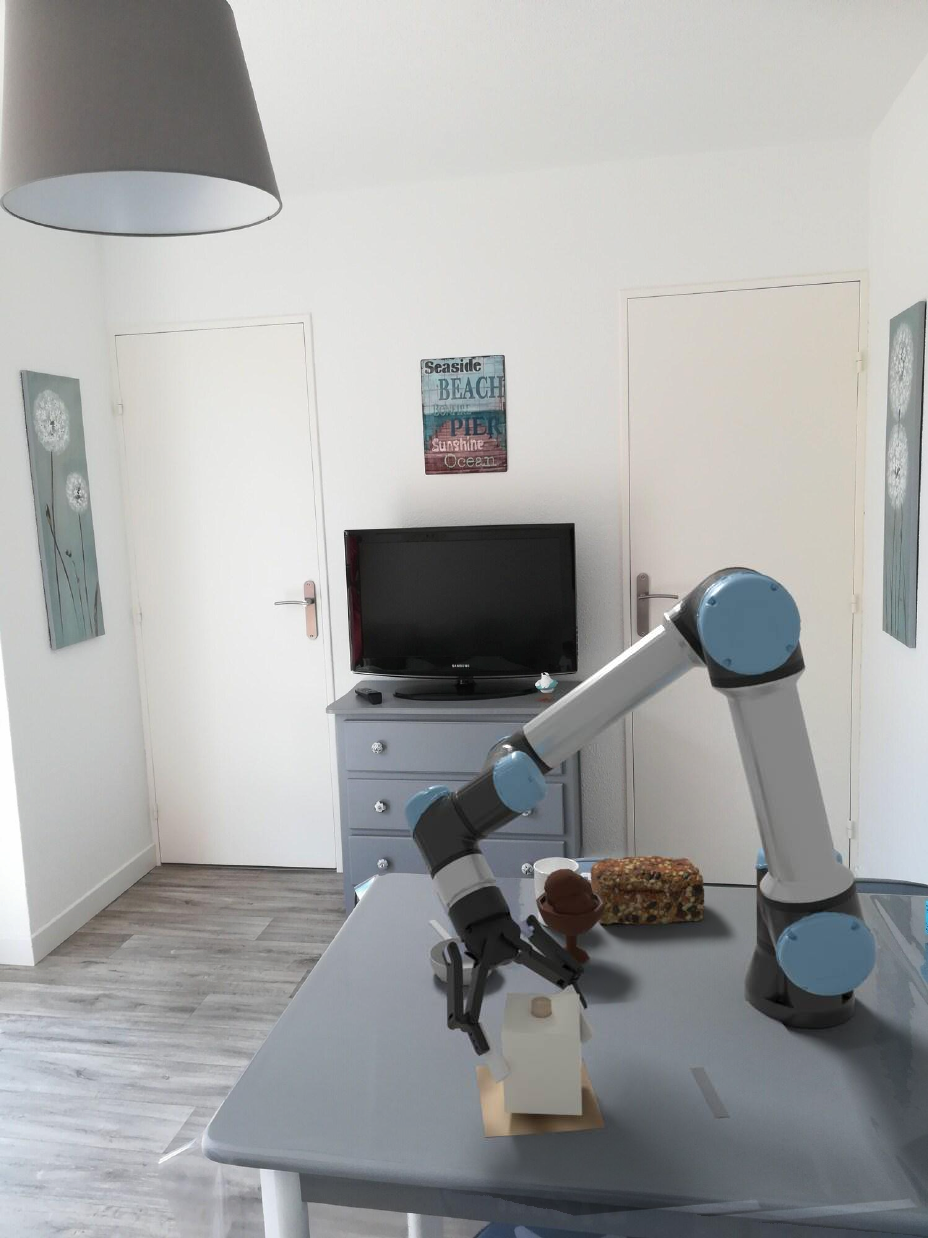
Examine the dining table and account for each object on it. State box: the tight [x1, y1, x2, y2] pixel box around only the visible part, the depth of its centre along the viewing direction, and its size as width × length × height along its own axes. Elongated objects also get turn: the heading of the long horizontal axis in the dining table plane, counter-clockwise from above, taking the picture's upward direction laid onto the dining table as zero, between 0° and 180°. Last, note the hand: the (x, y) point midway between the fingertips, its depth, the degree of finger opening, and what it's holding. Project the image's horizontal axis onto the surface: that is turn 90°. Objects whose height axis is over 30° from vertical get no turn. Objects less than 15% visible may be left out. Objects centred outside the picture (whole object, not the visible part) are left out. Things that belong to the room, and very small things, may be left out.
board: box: [475, 1057, 607, 1139], centre depth 117 cm, size 14×14×1 cm
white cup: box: [532, 856, 580, 927], centre depth 168 cm, size 8×8×10 cm
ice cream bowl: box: [535, 869, 605, 965], centre depth 154 cm, size 11×11×15 cm
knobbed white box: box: [500, 992, 582, 1115], centre depth 115 cm, size 9×9×11 cm
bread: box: [590, 855, 705, 926], centre depth 170 cm, size 19×11×10 cm, turn 90°
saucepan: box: [428, 919, 494, 986], centre depth 154 cm, size 11×18×4 cm, turn 25°
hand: (548, 1059), depth 114 cm, fingers closed on knobbed white box, 13 cm apart
